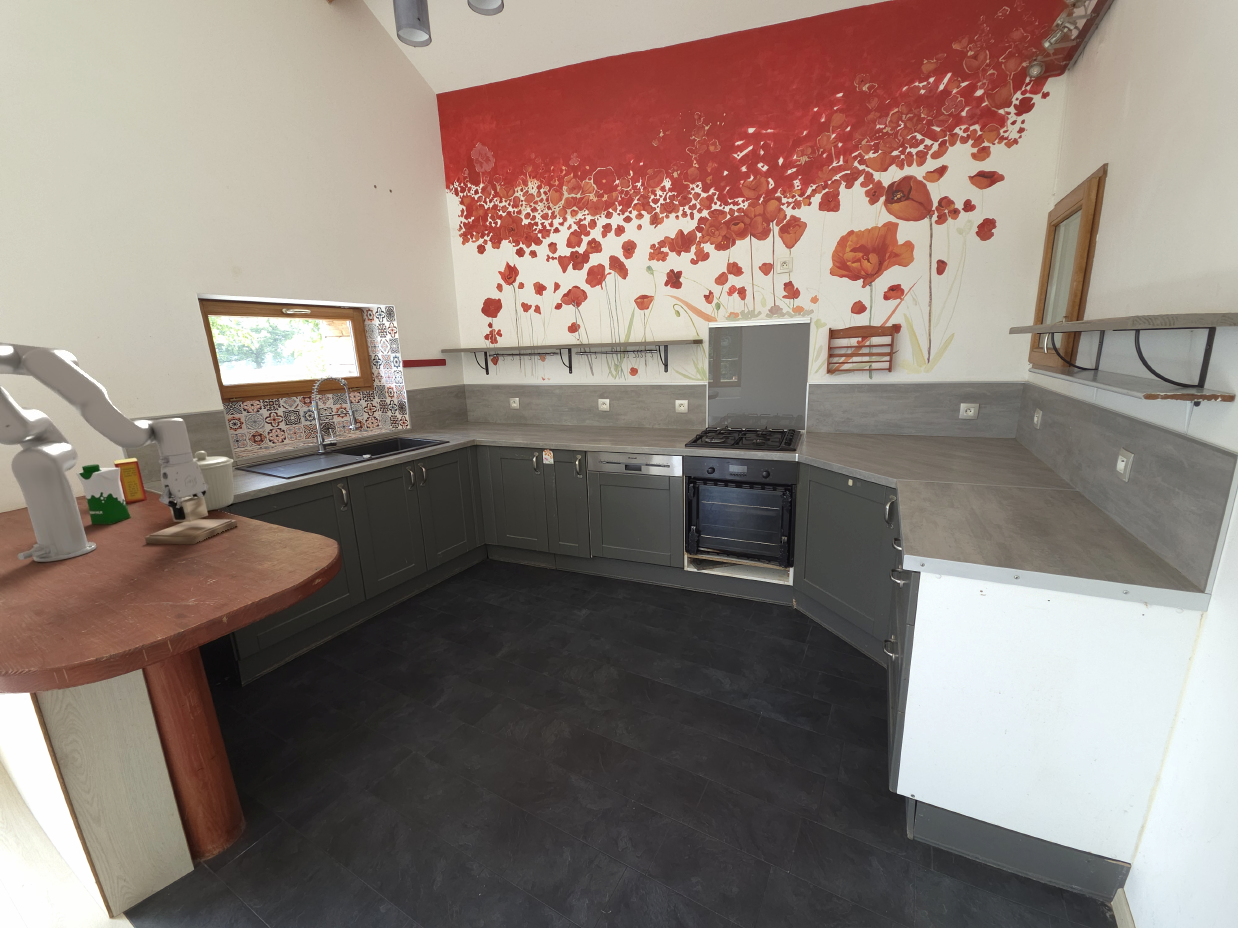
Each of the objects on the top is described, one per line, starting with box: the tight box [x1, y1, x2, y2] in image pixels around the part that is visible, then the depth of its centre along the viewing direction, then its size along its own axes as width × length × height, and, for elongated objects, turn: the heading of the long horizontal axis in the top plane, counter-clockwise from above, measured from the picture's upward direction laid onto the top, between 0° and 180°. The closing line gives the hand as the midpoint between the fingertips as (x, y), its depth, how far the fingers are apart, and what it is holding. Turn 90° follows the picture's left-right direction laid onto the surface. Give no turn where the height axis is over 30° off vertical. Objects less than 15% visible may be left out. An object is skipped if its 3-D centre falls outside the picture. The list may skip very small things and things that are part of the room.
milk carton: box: [76, 463, 132, 525], centre depth 179 cm, size 9×9×20 cm
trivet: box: [144, 518, 238, 545], centre depth 165 cm, size 16×16×2 cm
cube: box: [169, 497, 209, 523], centre depth 163 cm, size 6×6×6 cm
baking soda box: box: [112, 457, 148, 504], centre depth 206 cm, size 10×6×16 cm
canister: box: [184, 450, 235, 512], centre depth 192 cm, size 18×18×21 cm
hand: (190, 515), depth 164 cm, fingers closed on cube, 6 cm apart
